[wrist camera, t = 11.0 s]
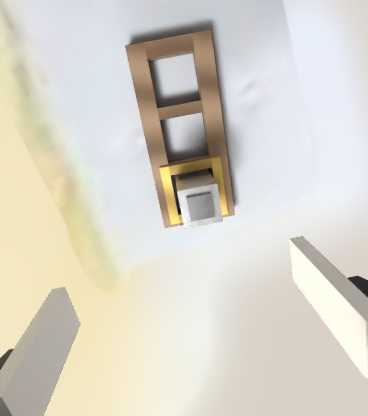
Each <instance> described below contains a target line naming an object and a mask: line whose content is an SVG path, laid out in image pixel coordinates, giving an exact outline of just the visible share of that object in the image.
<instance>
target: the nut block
mask: <svg viewBox="0 0 368 416" xmlns="http://www.w3.org/2000/svg"><path fill="white" fill-rule="evenodd" d="M175 179H176V187H177V194H178V199H179V204H180V209H181V214H182V219H183V224H184V229H185V228H191V227H196V226H201V225H206V224H211V223H216V222H222V221H223V217H222V211H221V204H220V197H219V191H218V184H217V182H216V181H215V180H214V178H213V177H212V175H211V174H210V173H209V171H208V170H207V169H202V170H197V171H192V172H187V173H182V174H176V175H175Z"/></svg>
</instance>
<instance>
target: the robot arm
mask: <svg viewBox="0 0 368 416" xmlns="http://www.w3.org/2000/svg"><path fill="white" fill-rule="evenodd" d="M289 241H290V253H291V264H292V274H293V280H294V282H295V283H296V284H297V286H298V287H299V288H300V290H301V291H302V293H303V294H304V295H305V297H306V298H307V299H308V301H309V302H310V303H311V305H312V306H313V308H314V309H315V310H316V312H317V313H318V314H319V316H320V317H321V318H322V320H323V321H324V322H325V324H326V325H327V327H328V328H329V329H330V331H331V332H332V333H333V335H334V336H335V337H336V339H337V340H338V341H339V343H340V344H341V346H342V347H343V348H344V350H345V351H346V352H347V354H348V355H349V357H350V358H351V359H352V360H353V362H354V363H355V365H356V366H357V367H358V369H359V370H360V371H361V373H362V374H363V376H364V377H365V378H368V280H366V279H364V278H362V277H359V276H354V277H349V278H346V277H345V276H344V275H343V274H342V273H341V272H340V271H339V270H338V269H337V268H336V267H335V266H334V265H333V264H331V263H330V262H329V261H328V260H327V259H326V258H325V257H324V256H323V255H322V254H321V253H320V252H319V251H318V250H317V249H315V247H313V246H312V245H311V244H310V243H309V242H308V241H307V240H306V239H305V238H304V237H303V236H301V237H296V238H291V239H289ZM79 327H80V322H79V319H78V317H77V315H76V312H75V310H74V308H73V305H72V303H71V300H70V298H69V295H68V293H67V291H66V288H65V287H61V288H57V289H52V291H51V292H50V294H49V295H48V297H47V298H46V300H45V301H44V303H43V304H42V306H41V308H40V309H39V311H38V312H37V314H36V315H35V317H34V319H33V320H32V322H31V323H30V325H29V326H28V328H27V330H26V331H25V333H24V334H23V336H22V337H21V339H20V340H19V342H18V343H17V345H16V347H15V348H14V349H10V350H8V351H7V352H6V353H5V354H4V355H3V356H2V357H1V358H0V416H44V413H45V411H46V409H47V406H48V404H49V401H50V399H51V396H52V393H53V391H54V389H55V386H56V384H57V381H58V379H59V376H60V374H61V371H62V369H63V366H64V364H65V362H66V359H67V357H68V354H69V352H70V349H71V346H72V344H73V341H74V339H75V337H76V334H77V332H78V329H79Z"/></svg>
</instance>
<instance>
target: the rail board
mask: <svg viewBox="0 0 368 416" xmlns="http://www.w3.org/2000/svg"><path fill="white" fill-rule="evenodd" d="M125 48H126V52H127V57H128V61H129V66H130V71H131V75H132V80H133V84H134V89H135V94H136V98H137V103H138V107H139V112H140V116H141V121H142V126H143V130H144V135H145V139H146V144H147V149H148V153H149V158H150V162H151V167H152V171H153V176H154V181H155V185H156V190H157V194H158V199H159V204H160V208H161V213H162V217H163V222H164V226H165V228H169V227H174V226H179V225H184V224H183V219H182V214H181V209H177V204H176V199H175V194H174V189H173V184H172V179H171V175H176V174H181V173H186V172H191V171H197V170H202V169H207V168H210V169H211V175H212V177H213V178H214V180H215V181H216V182H217V184H218V191H219V197H220V204H221V211H222V217H227V216H232V215H235V211H234V204H233V196H232V188H231V180H230V173H229V165H228V157H227V150H226V142H225V134H224V127H223V119H222V111H221V104H220V96H219V88H218V80H217V73H216V65H215V57H214V50H213V42H212V34H211V29H210V30H205V31H200V32H194V33H189V34H184V35H179V36H174V37H168V38H163V39H158V40H153V41H147V42H142V43H137V44H132V45H126V46H125ZM190 53H193V56H194V63H195V70H196V76H197V83H198V90H199V96H200V101H194V102H189V103H184V104H179V105H173V106H168V107H163V108H157V103H156V98H155V93H154V88H153V83H152V78H151V73H150V68H149V63H148V61H153V60H159V59H164V58H169V57H174V56H180V55H185V54H190ZM201 112H202V116H203V123H204V129H205V136H206V142H207V149H208V155H203V156H198V157H192V158H187V159H182V160H176V161H171V162H168V159H167V154H166V148H165V143H164V138H163V133H162V128H161V123H160V120H164V119H169V118H174V117H180V116H185V115H190V114H195V113H201Z"/></svg>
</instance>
